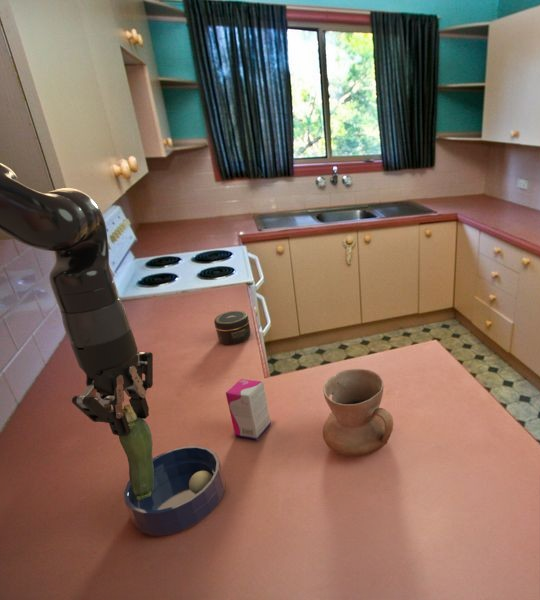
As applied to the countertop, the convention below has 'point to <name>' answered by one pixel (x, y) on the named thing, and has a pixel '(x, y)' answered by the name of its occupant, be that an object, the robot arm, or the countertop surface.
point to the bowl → (177, 492)
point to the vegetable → (138, 454)
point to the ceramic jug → (356, 413)
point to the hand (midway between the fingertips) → (132, 425)
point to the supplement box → (248, 408)
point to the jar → (232, 327)
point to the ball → (199, 481)
